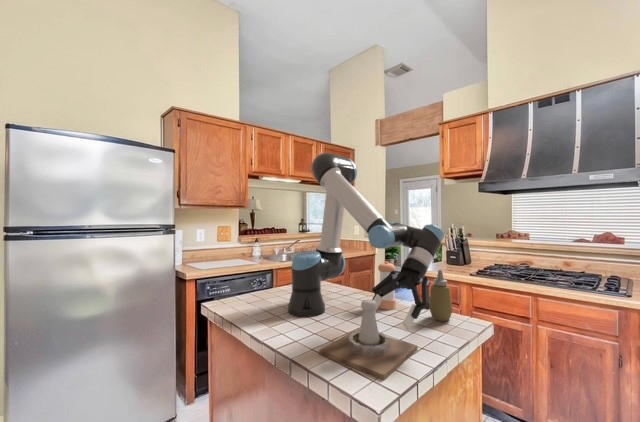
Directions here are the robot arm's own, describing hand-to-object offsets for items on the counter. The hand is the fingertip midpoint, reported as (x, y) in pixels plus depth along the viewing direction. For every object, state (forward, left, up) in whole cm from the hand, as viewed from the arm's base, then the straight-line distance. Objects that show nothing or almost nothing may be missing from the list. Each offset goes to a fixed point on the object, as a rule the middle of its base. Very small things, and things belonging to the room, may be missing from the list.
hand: (386, 319), depth 86 cm
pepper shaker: (-17, +33, -8) cm, 37 cm away
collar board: (-2, -7, -7) cm, 11 cm away
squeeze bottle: (+5, +33, -8) cm, 34 cm away
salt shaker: (-2, -7, -6) cm, 10 cm away
